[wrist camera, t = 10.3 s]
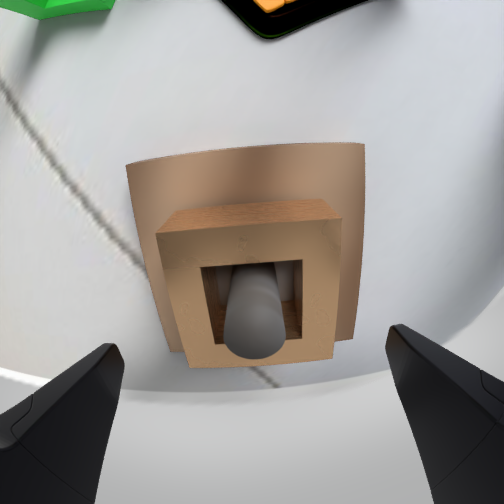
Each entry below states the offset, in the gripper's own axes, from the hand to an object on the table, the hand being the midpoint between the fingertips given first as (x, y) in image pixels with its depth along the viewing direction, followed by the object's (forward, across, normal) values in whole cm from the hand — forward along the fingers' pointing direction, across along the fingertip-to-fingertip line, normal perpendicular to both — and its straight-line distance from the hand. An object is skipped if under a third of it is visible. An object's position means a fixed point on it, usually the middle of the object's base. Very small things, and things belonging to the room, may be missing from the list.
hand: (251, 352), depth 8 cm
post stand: (+8, 0, 0) cm, 8 cm away
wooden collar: (+6, 0, 0) cm, 6 cm away
